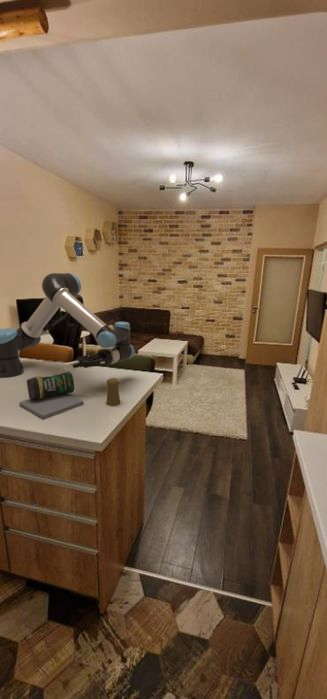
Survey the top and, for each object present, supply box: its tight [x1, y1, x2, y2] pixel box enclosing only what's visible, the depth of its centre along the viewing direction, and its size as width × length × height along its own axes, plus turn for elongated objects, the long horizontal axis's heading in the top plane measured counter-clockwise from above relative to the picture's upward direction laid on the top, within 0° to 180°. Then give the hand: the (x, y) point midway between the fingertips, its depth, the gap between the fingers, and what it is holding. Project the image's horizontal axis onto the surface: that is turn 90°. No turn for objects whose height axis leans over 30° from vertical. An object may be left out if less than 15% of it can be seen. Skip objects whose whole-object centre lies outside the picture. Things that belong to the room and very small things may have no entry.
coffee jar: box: [26, 371, 75, 400], centre depth 133 cm, size 10×8×19 cm
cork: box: [105, 377, 121, 407], centre depth 131 cm, size 6×6×11 cm
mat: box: [18, 393, 85, 420], centre depth 128 cm, size 18×18×2 cm
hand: (65, 367), depth 130 cm, fingers closed
